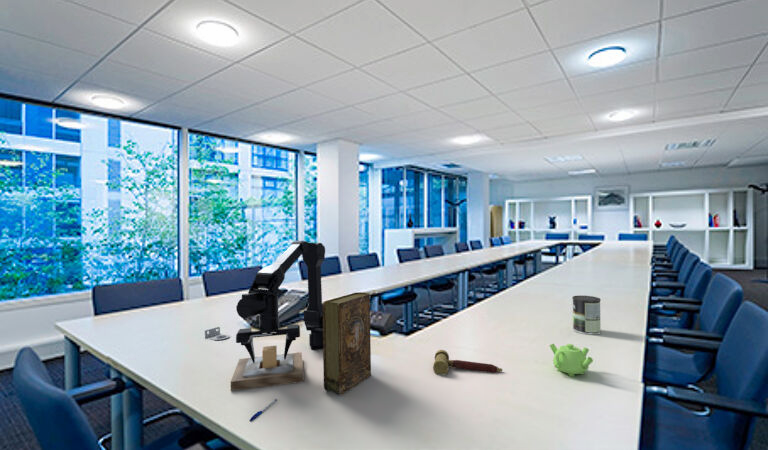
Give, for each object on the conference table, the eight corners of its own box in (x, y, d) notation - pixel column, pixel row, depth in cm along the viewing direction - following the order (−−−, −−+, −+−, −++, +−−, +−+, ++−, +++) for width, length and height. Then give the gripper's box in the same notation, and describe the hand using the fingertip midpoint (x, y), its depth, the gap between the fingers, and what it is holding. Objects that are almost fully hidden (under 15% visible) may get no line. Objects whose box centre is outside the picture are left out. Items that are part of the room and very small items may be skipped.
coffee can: (571, 332, 148) (570, 298, 148) (574, 326, 156) (574, 294, 156) (600, 336, 142) (599, 301, 142) (602, 330, 150) (601, 296, 150)
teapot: (550, 376, 106) (550, 348, 106) (549, 362, 116) (549, 336, 116) (594, 382, 101) (593, 352, 101) (588, 367, 111) (588, 340, 112)
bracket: (218, 342, 143) (218, 334, 143) (204, 338, 149) (204, 330, 149) (233, 338, 149) (233, 329, 149) (219, 334, 154) (219, 326, 154)
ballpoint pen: (252, 422, 83) (252, 418, 83) (249, 422, 84) (249, 417, 84) (277, 401, 94) (277, 397, 94) (274, 400, 94) (274, 397, 94)
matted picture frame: (301, 359, 122) (301, 351, 122) (303, 381, 105) (303, 371, 105) (239, 366, 117) (239, 357, 117) (230, 390, 100) (230, 379, 100)
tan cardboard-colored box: (276, 370, 113) (276, 345, 113) (276, 375, 109) (276, 349, 109) (263, 371, 112) (263, 346, 112) (262, 377, 108) (262, 350, 108)
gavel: (500, 356, 114) (505, 369, 104) (500, 370, 114) (504, 384, 104) (435, 348, 118) (433, 360, 108) (434, 362, 118) (432, 374, 109)
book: (358, 371, 112) (357, 291, 112) (373, 374, 109) (372, 293, 109) (323, 392, 98) (322, 301, 98) (339, 397, 95) (337, 303, 95)
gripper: (298, 303, 121) (299, 349, 121) (240, 307, 116) (241, 354, 116) (299, 310, 110) (300, 360, 110) (235, 315, 105) (236, 367, 105)
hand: (269, 360), depth 111 cm, fingers open, 9 cm apart
